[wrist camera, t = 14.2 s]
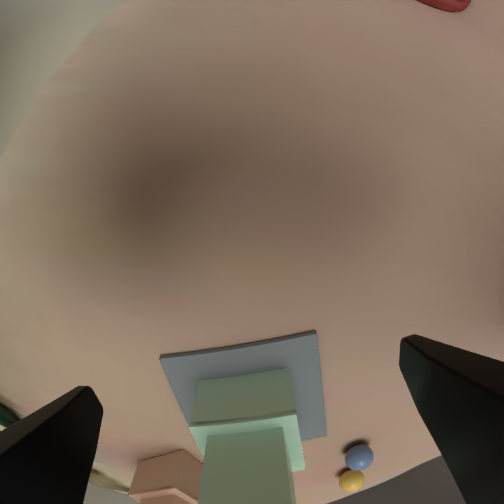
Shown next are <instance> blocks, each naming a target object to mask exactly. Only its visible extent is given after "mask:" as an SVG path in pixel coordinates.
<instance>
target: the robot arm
mask: <svg viewBox="0 0 504 504" xmlns="http://www.w3.org/2000/svg"><path fill="white" fill-rule="evenodd" d="M399 366H400V370H401V372H402V375H403V377H404V379H405V381H406V384H407V386H408V388H409V391H410V393H411V396H412V398H413V400H414V403H415V405H416V407H417V410H418V412H419V414H420V416H421V418H422V419H423V421H424V423H425V425H426V426H427V428H428V430H429V432H430V434H431V436H432V437H433V439H434V441H435V443H436V445H437V447H438V449H439V450H440V452H441V454H442V456H443V458H444V460H445V462H446V463H447V466H448V468H449V470H450V472H451V474H452V476H453V478H454V480H455V482H456V484H457V486H458V488H459V490H460V492H461V494H462V496H463V498H464V500H465V502H466V504H504V362H503V361H500V360H496V359H493V358H490V357H486V356H483V355H480V354H476V353H473V352H470V351H467V350H463V349H460V348H457V347H454V346H451V345H447V344H444V343H441V342H438V341H435V340H432V339H429V338H426V337H422V336H419V335H416V334H413V335H410V336H407V337H404V338H402V340H401V343H400V357H399ZM102 417H103V407H102V405H101V403H100V401H99V400H98V398H97V396H96V394H95V393H94V391H93V389H92V388H91V387H89V386H78V387H76V388H74V389H73V390H71V391H69V392H68V393H66V394H64V395H62V396H61V397H59V398H57V399H56V400H54V401H52V402H51V403H49V404H47V405H46V406H44V407H42V408H40V409H39V410H37V411H35V412H34V413H32V414H30V415H28V416H27V417H25V418H23V419H21V420H20V421H18V422H16V423H14V424H13V425H11V426H9V427H7V428H6V429H4V430H2V431H0V504H83V501H84V497H85V493H86V489H87V485H88V481H89V477H90V473H91V469H92V465H93V462H94V458H95V454H96V449H97V444H98V438H99V433H100V427H101V422H102Z"/></svg>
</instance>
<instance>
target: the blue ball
mask: <svg viewBox="0 0 504 504" xmlns="http://www.w3.org/2000/svg"><path fill="white" fill-rule="evenodd" d="M373 457H374V455H373V451H372V450H371V448H370V447H368V446H366V445H356V446H354V447H352V448H351V449H350V450H349V451H348V452H347V454H346V456H345V462H346V465H347V466H348V467H349V468H350V469H352V470H355V471H360V470H363V469H366V468H367V467H368V466H370V464H371V463H372V461H373Z"/></svg>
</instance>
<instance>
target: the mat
mask: <svg viewBox="0 0 504 504" xmlns="http://www.w3.org/2000/svg"><path fill="white" fill-rule="evenodd" d="M159 360H160V362H161V365H162V367H163V370H164V372H165V374H166V377H167V379H168V381H169V383H170V386H171V388H172V390H173V392H174V395H175V397H176V399H177V401H178V403H179V405H180V408H181V410H182V412H183V414H184V416H185V418H186V420H187V422H188V424H189V421H190V417H191V412H192V408H193V403H194V399H195V394H196V390H197V385H198V381H202V380H211V379H219V378H227V377H234V376H241V375H248V374H254V373H260V372H266V371H272V370H278V369H283V368H288V373H289V378H290V383H291V388H292V394H293V399H294V404H295V410H296V415H297V421H298V427H299V433H300V439H301V441H304V440H309V439H314V438H318V437H323V436H327V434H326V421H325V409H324V397H323V387H322V377H321V367H320V358H319V349H318V340H317V333H316V331H310V332H306V333H301V334H296V335H291V336H286V337H281V338H276V339H271V340H265V341H260V342H254V343H248V344H242V345H236V346H230V347H223V348H216V349H209V350H202V351H195V352H187V353H178V354H170V355H161V356H160V358H159Z"/></svg>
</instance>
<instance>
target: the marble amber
mask: <svg viewBox="0 0 504 504" xmlns="http://www.w3.org/2000/svg"><path fill="white" fill-rule="evenodd" d="M364 481H365V477H364V475H363V473H362V472H361V471H355V470H348V471H346V472H344V473H343V474H342V475H341V477H340V479H339V485H340V487H341V489H342V490H344V491H346V492H354V491H357V490H359V489H360V488H361V487H362V486H363V484H364Z"/></svg>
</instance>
